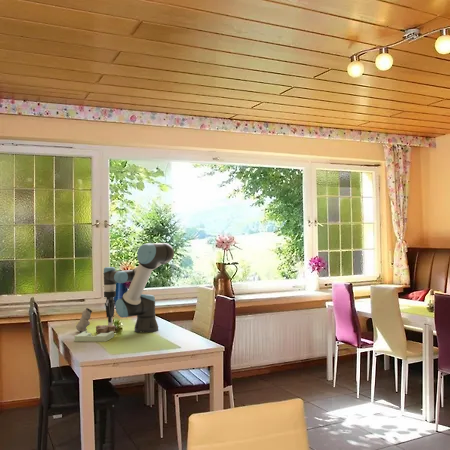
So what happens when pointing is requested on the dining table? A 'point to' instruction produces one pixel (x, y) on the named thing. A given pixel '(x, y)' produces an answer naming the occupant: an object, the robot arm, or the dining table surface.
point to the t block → (105, 328)
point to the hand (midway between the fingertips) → (110, 327)
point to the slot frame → (100, 337)
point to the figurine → (84, 320)
